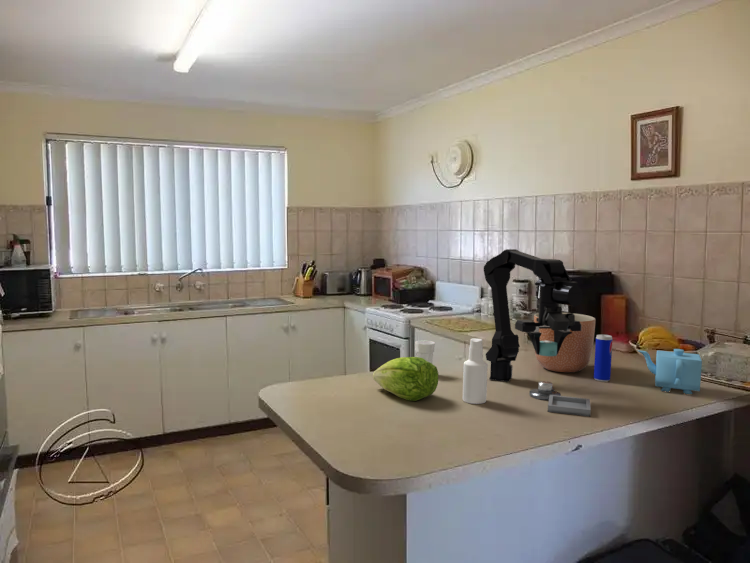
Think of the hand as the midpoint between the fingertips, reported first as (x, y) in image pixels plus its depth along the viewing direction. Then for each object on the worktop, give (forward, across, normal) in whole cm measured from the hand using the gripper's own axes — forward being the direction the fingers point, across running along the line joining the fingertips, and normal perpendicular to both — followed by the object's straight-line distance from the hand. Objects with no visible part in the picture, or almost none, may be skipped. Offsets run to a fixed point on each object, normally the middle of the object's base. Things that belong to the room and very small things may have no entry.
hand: (546, 354), depth 175 cm
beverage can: (+13, +28, +15) cm, 34 cm away
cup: (+13, -29, +30) cm, 44 cm away
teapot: (+13, +43, +3) cm, 45 cm away
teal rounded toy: (0, 0, 0) cm, 0 cm away
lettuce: (+13, -42, +7) cm, 45 cm away
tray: (+13, +1, -12) cm, 18 cm away
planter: (+13, +22, +31) cm, 40 cm away
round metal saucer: (+13, 0, 0) cm, 13 cm away
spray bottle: (+13, -23, -2) cm, 26 cm away
